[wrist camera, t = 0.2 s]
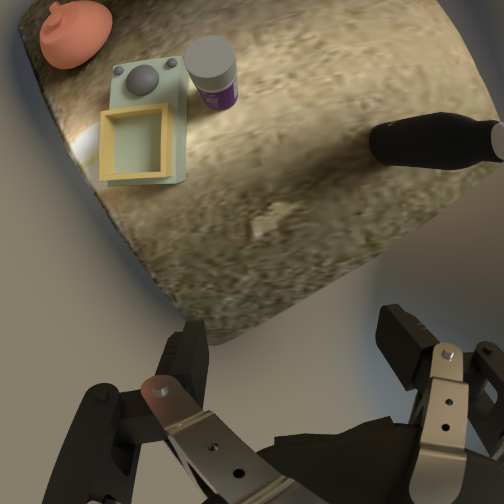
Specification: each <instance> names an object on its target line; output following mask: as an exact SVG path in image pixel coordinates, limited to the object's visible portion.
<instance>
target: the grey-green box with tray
mask: <svg viewBox="0 0 504 504" xmlns="http://www.w3.org/2000/svg"><path fill="white" fill-rule="evenodd" d="M188 87H189V73H188V71H187V69H186V67H185V65H184V60H183V58H182V56H176V57H166V58H158V59H151V60H144V61H137V62H132V63H126V64H121V65H116V66H113V74H112V82H111V92H110V104H109V110H105V111H101V114H100V134H99V181H106V180H108V187H110V186H125V185H145V184H172V183H179V182H182V181H186V130H187V105H188Z"/></svg>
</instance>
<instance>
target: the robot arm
mask: <svg viewBox="0 0 504 504" xmlns="http://www.w3.org/2000/svg"><path fill="white" fill-rule="evenodd" d="M375 338H376V344H377V346H378V348H379V349H380V351H381V352H382V354H383V355H384V357H385V359H386V360H387V362H388V363H389V365H390V366H391V368H392V369H393V371H394V372H395V374H396V376H397V377H398V379H399V380H400V382H401V383H402V385H403V387H404V388H405V390H406V391H409V390H413V389H417V390H418V391H417V393H416V396H415V400H414V404H413V407H412V411H411V415H410V419H409V422H408V424H403V423H393V421H392V419H391V417H390V416H388V417H384V418H380V419H377V420H373V421H369V422H364V423H362V424H360V425H358V426H356V427H354V428H352V429H349V430H347V431H345V432H343V433H340V434H337V435H330V434H306V433H305V434H297V435H288V436H279V437H274V445H273V446H270V447H267V448H264V449H262V450H260V451H258V452H256V453H255V452H254V451H253V450H252V449H251V448H250V447H249V446H248V445H247V444H246V443H244V442H243V441H242V440H241V439H240V438H239V437H238V436H237V435H236V434H235V433H234V432H233V431H232V430H231V429H230V428H228V426H227V425H225V423H223V421H222V420H221V419H220V418H219V417H218V416H217V415H216V414H214V413H213V412H212V411H209V410H208V411H207V412H205V411H204V410H203V402H204V395H205V388H206V380H207V373H208V365H209V349H208V342H207V336H206V330H205V324H204V321H203V320H190V321H186V323H185V326H184V329H183V332H174V333H173V335H171V336H170V337H169V338H168V340H167V343H166V345H165V348H164V351H163V354H162V356H161V359H160V362H159V365H158V368H157V370H156V373H155V376H153V377H151V378H149V379H147V380H146V381H145V382H144V383H143V384H142V386H141V389H139V390H135V391H129V392H121V393H119V391H118V389H117V388H116V387H115V386H114V385H112V384H109V383H100V384H97V385H94V386H92V387H91V388H89V389H88V390H87V392H86V393H85V395H84V397H83V399H82V402H81V404H80V406H79V408H78V410H77V412H76V415H75V417H74V419H73V422H72V424H71V426H70V429H69V431H68V433H67V436H66V438H65V440H64V443H63V445H62V448H61V450H60V453H59V456H58V458H57V461H56V463H55V466H54V469H53V471H52V474H51V477H50V480H49V483H48V486H47V489H46V492H45V495H44V498H43V501H42V504H131V501H132V494H133V488H134V482H135V476H136V470H137V465H138V460H139V455H140V450H141V445H142V444H143V443H149V442H156V441H162V440H163V441H164V443H165V444H166V446H167V447H168V448H169V450H170V451H171V453H172V454H173V456H174V457H175V458H176V459H177V461H178V462H179V463H180V465H181V466H182V468H183V469H184V470H185V471H186V473H187V474H188V476H189V477H190V479H191V480H192V482H193V483H194V484H195V486H196V487H197V488H198V489H199V491H200V492H201V493H202V494H203V495H204V496H205V498H206V500H205V501H204V502H203V503H202V504H504V352H503V351H502V350H500V348H499V347H498V346H497V345H495V344H494V343H491V342H487V341H483V342H479V343H478V344H477V346H476V348H475V351H474V352H468V353H462V351H461V350H460V348H459V347H457V346H456V345H453V344H451V343H440V342H439V341H438V340H437V339H436V338H435V337H434V336H433V334H432V333H431V332H430V331H429V330H428V329H426V327H425V326H424V325H423V324H421V322H420V321H419V320H418V319H417V318H416V317H415V316H413V315H411V314H409V313H407V312H405V311H404V310H403V309H402V308H401V307H400V306H399V305H398V304H391V305H384V306H382V307H381V309H380V313H379V319H378V324H377V329H376V335H375ZM488 382H490V383H491V384H492V385H493V387H494V388H495V389H496V391H497V393H498V398H497V401H496V403H495V404H494V403H493V401H492V400H491V399H490V397H489V396H488V394H487V393H486V392H485V390H484V389H485V387H486V385H487V383H488ZM467 418H468V419H469V421H470V422H471V424H472V426H473V428H474V429H475V431H476V432H477V434H478V436H479V438H480V439H481V441H482V443H483V445H484V446H485V448H486V450H487V452H488V454H489V457H486V456H484V455H481V454H479V453H476V452H474V451H471V450H469V449H466V448H464V444H465V436H466V426H467Z"/></svg>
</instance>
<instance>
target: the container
mask: <svg viewBox="0 0 504 504" xmlns="http://www.w3.org/2000/svg"><path fill="white" fill-rule="evenodd" d="M183 60H184V65H185V67H186V69H187V71H188V73H189V75H190V77H191V79H192V81H193V83H194V85H195V87H196V88H197V90H198V92H199V93H200V95H201V97H202V98H203V100H204V102H205V103H206V104H207V106H208V107H210V108H211V109H213V110H217V111H223V110H227V109H229V108H231V107H232V106H233V105H234V104H235V103H236V101H237V98H238V81H237V67H236V59H235V52H234V48H233V46H232V45H231V43H230V42H229V41H227V40H226V39H224V38H222V37H219V36H204V37H201V38H199V39H197V40H195V41H193V42H192V43H191V44H190V45H189V46H188V47H187V49H186V51H185V53H184V59H183Z"/></svg>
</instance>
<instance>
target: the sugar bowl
mask: <svg viewBox="0 0 504 504" xmlns="http://www.w3.org/2000/svg"><path fill="white" fill-rule="evenodd" d="M49 10H50V12H51V14H50V16H49V17H48V18H47V19H46V21H45V22H44V24H43V26H42V28H41V31H40V45H41V50H42V53H43V55H44V57H45V59H46V60H47V61H48V62H49V63H50V64H51V65H52V66H54V67H56V68H58V69H71V68H74V67H77V66H79V65H81V64H83V63H84V62H86V61H87V60H89V59H90V58H91V57H92V56H94V55H95V54H96V53H97V52H98V51H99V50H100V48H101V47H102V46H103V45H104V43H105V42H106V40H107V38H108V36H109V34H110V31H111V28H112V15H111V13H110V11H109V10H108V9H107V8H106V7H105V6H104V5H102V4H100V3H97V2H94V1H75V2H70V3H66V4H64V5H61V4H60V3H58V2H54V3H53V4H52V5H51V6H50V7H49Z"/></svg>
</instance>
